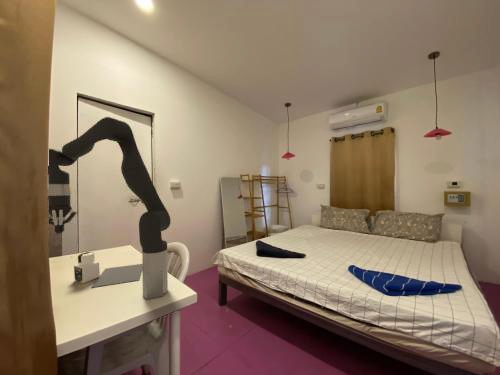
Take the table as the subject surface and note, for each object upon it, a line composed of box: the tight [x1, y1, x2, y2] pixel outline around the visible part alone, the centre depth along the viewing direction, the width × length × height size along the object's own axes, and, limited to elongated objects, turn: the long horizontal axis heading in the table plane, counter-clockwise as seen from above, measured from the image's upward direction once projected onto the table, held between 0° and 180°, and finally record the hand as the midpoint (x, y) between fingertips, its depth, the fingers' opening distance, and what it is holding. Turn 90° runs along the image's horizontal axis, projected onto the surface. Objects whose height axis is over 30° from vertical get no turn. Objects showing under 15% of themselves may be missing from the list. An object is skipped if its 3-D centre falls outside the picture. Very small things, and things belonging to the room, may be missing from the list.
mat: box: [90, 263, 142, 289], centre depth 102 cm, size 22×18×1 cm
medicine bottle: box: [73, 251, 101, 284], centre depth 97 cm, size 7×7×12 cm
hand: (59, 233), depth 93 cm, fingers closed
